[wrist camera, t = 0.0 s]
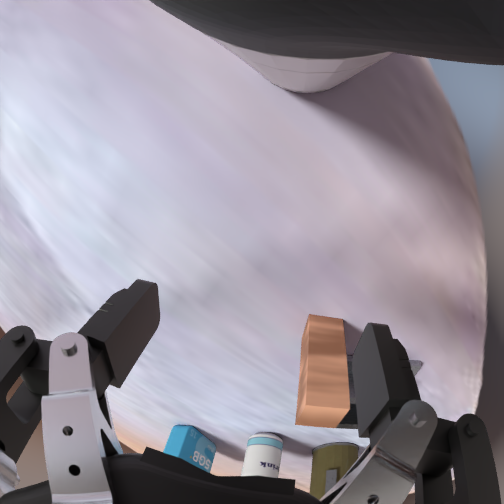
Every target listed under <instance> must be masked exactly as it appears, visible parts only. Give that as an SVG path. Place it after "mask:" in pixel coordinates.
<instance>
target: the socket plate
mask: <svg viewBox="0 0 504 504" xmlns="http://www.w3.org/2000/svg"><path fill="white" fill-rule="evenodd" d="M346 356H347V368H348V381H349V398H350V410H349V411H348V412H347V414H346V415H345V416H344V418H343V419H342V420H341V422H340V423H339V424H338V425H337V427H336V428H346V429H358V419H357V408H356V398H355V389H354V380H353V372H352V359H353V356H349V355H346ZM408 361H409V362H410V365H411V370H412V371H413V374H414V376H415V375H416V373H417V372H418V371H419V369H420V368H421V367H422V365H421V362H420V361H411V360H408Z"/></svg>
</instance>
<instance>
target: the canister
mask: <svg viewBox="0 0 504 504" xmlns="http://www.w3.org/2000/svg"><path fill="white" fill-rule="evenodd" d="M358 450H359V447H358V446H357V445H355V444H352V443H341V442H337V443H329V444H323V445H321V446H318V447H316V448H315V449H313V451H312V454H313V460H312V473H311V484H310V494H311V495H312V496H314V497H316V498H317V499H318V500H320V499H321V498H322V497H323V496H324V495H325V494H326V493H327V492H328V491H329V490H330V489H331V488H332V487H334V486H335V485H336V484H337V483H338V482H339V480H340V479H341V478H342V477H343V476H344V475H345V474H346V472H347V471H348V470H349V469H350V468H351V467H352V465H353V464H354V463H355V462H356V460H357V459H358Z"/></svg>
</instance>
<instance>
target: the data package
mask: <svg viewBox="0 0 504 504" xmlns="http://www.w3.org/2000/svg"><path fill="white" fill-rule="evenodd" d="M215 452H216V446H215V444H214V443H212V442H211V441H210V440H209V439H207V438H206V437H205V436H204V435H203V434H201V433H200V432H199V431H198V430H197V429H195V428H194V427H193V426H182V425H175V426H174V427H173V428H172V430H171V433H170V436H169V438H168V441H167V443H166V446H165V449H164V451H163V453H166V454H169V455H172V456H176V457H179V458H182V459H183V460H185V461H187V462H189V463H191V464H193V465H195V466H196V467H198V468H200V469H202V470H204V471H206V472H208V473H210V470H211V466H212V463H213V459H214V456H215Z"/></svg>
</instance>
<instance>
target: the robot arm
mask: <svg viewBox="0 0 504 504" xmlns="http://www.w3.org/2000/svg"><path fill="white" fill-rule="evenodd" d="M150 1H151V2H152V3H154V4H155V5H157V6H158V7H160V8H162V9H163V10H165V11H166V12H168V13H170V14H171V15H173V16H175V17H176V18H178V19H180V20H182V21H183V22H185V23H187V24H188V25H190V26H192V27H193V28H195V29H197V30H199V31H201V32H202V33H204V34H205V35H207V36H208V37H210V38H211V39H213V40H214V41H216V42H217V43H219V44H220V45H222V46H223V47H225V48H226V49H227V50H229V51H231V52H232V53H233V54H235V55H236V56H237V57H239V58H240V59H241V60H243V61H244V62H245V63H247V64H248V65H249V66H251V67H252V68H253V69H254V70H256V71H257V72H258V73H259V74H261V75H262V76H263V77H265V78H266V79H267V80H269V81H270V82H271V83H273V84H274V85H276V86H278V87H281V88H283V89H285V90H289V91H293V92H297V93H316V92H322V91H325V90H328V89H331V88H333V87H335V86H337V85H338V84H340V83H342V82H344V81H346V80H347V79H349V78H351V77H352V76H354V75H356V74H357V73H359V72H361V71H362V70H364V69H366V68H368V67H369V66H371V65H373V64H375V63H376V62H378V61H380V60H382V59H383V58H385V57H387V56H389V55H390V54H392V53H401V54H407V55H414V56H420V57H426V58H434V59H441V60H447V61H457V62H464V63H477V64H487V65H504V0H150ZM159 321H160V308H159V296H158V286H157V284H156V283H153V282H149V281H144V280H140V279H137V280H136V281H135V282H134V283H133V284H132V285H131V286H130V287H129V288H128V289H122V290H120V291H118V292H116V293H115V294H113V295H112V296H111V297H110V298H109V299H108V300H107V301H106V303H105V304H103V305H102V306H101V308H100V310H98V311H97V312H96V313H95V314H94V315H93V316H92V317H91V318H90V319H89V321H88V322H87V323H86V324H85V325H84V326H83V327H82V328H81V329H80V330H79V332H78V333H73V332H71V333H65V334H62V335H60V336H58V337H57V338H55V339H54V341H47V340H40V339H36V337H35V334H34V332H33V330H32V329H31V328H30V327H27V326H17V327H14V328H12V329H11V330H9V331H8V332H7V333H6V334H5V335H4V336H3V337H2V338H1V340H0V504H402V503H403V501H404V500H405V498H406V496H407V495H408V493H409V492H410V490H411V488H412V487H413V485H414V483H415V504H501V498H500V490H499V484H498V478H497V472H496V467H495V462H494V458H493V453H492V449H491V445H490V441H489V437H488V433H487V430H486V427H485V424H484V422H483V421H482V420H481V419H480V418H479V417H478V416H476V415H474V414H465V415H463V416H461V417H460V418H459V419H458V420H457V422H453V421H449V420H445V419H441V418H438V417H437V414H436V412H435V410H434V409H433V408H432V406H430V405H429V404H428V403H426V402H424V401H421V398H420V394H419V391H418V387H417V384H416V381H415V377H414V374H413V371H412V370H411V365H410V362H409V361H408V360H409V359H408V356H407V353H406V350H405V348H404V347H403V345H402V344H401V343H400V342H399V341H398V339H393V338H392V335H391V332H390V329H389V326H388V325H385V324H377V323H368V324H367V325H366V327H365V329H364V332H363V334H362V336H361V338H360V341H359V343H358V345H357V347H356V349H355V352H354V355H353V359H352V372H353V380H354V389H355V398H356V408H357V419H358V431H359V437H361V438H370V444H369V445H368V447H367V448H366V449H365V450H364V452H363V453H362V454H361V455H360V457H359V458H358V459H357V460H356V462H355V463H354V464H353V465H352V467H351V468H350V469H349V470H348V471H347V472H346V474H345V475H344V476H343V477H342V478H341V479H340V480H339V482H338V483H337V484H336V485H335V486H334V487H332V488H331V489H330V490H329V491H328V492H327V493H326V494H325V495H324V496H323V497H322V498H321V499H320V500H318V499H317V498H316V497H314V496H312V495H311V494H309V493H307V492H305V491H302V490H300V489H297V488H295V480H292V479H282V478H273V477H266V476H259V475H256V476H215V475H212V474H210V473H208V472H206V471H204V470H202V469H200V468H198V467H196V466H195V465H193V464H191V463H189V462H187V461H185V460H183V459H182V458H179V457H176V456H172V455H169V454H166V453H163V452H160V451H157V450H154V449H152V448H149V447H146V449H145V451H144V453H143V454H139V453H127V454H123V451H122V449H121V446H120V444H119V441H118V439H117V436H116V433H115V429H114V425H113V421H112V417H111V412H110V407H109V403H108V398H107V393H106V389H107V387H108V386H109V384H110V385H113V386H115V387H117V388H120V387H121V385H122V384H123V382H124V381H125V379H126V377H127V376H128V374H129V372H130V371H131V369H132V368H133V366H134V364H135V363H136V361H137V360H138V358H139V357H140V355H141V353H142V352H143V350H144V349H145V347H146V345H147V344H148V342H149V341H150V339H151V338H152V336H153V335H154V333H155V331H156V330H157V328H158V325H159ZM19 376H21V378H22V379H23V382H22V384H21V385H20V386H19V388H18V389H17V390H16V392H15V393H14V395H13V396H12V398H11V399H10V400H9V402H8V403H7V402H6V395H7V393H8V391H9V390H10V388H11V387H12V385H13V384H14V383H15V381H16V380H17V379H18V377H19ZM41 419H42V429H43V441H44V450H45V459H46V466H47V472H48V478H49V480H47V481H44V482H41V483H38V484H35V485H31V486H28V487H25V488H21V489H17V490H15V487H14V486H16V485H18V484H19V482H20V478H19V476H18V474H17V468H16V463H17V461H18V459H19V457H20V455H21V453H22V451H23V450H24V448H25V446H26V444H27V442H28V440H29V439H30V437H31V435H32V434H33V432H34V430H35V429H36V427H37V425H38V423H39V422H40V420H41ZM451 468H453V470H454V477H455V484H456V491H455V494H454V496H453V485H452V477H451Z"/></svg>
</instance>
